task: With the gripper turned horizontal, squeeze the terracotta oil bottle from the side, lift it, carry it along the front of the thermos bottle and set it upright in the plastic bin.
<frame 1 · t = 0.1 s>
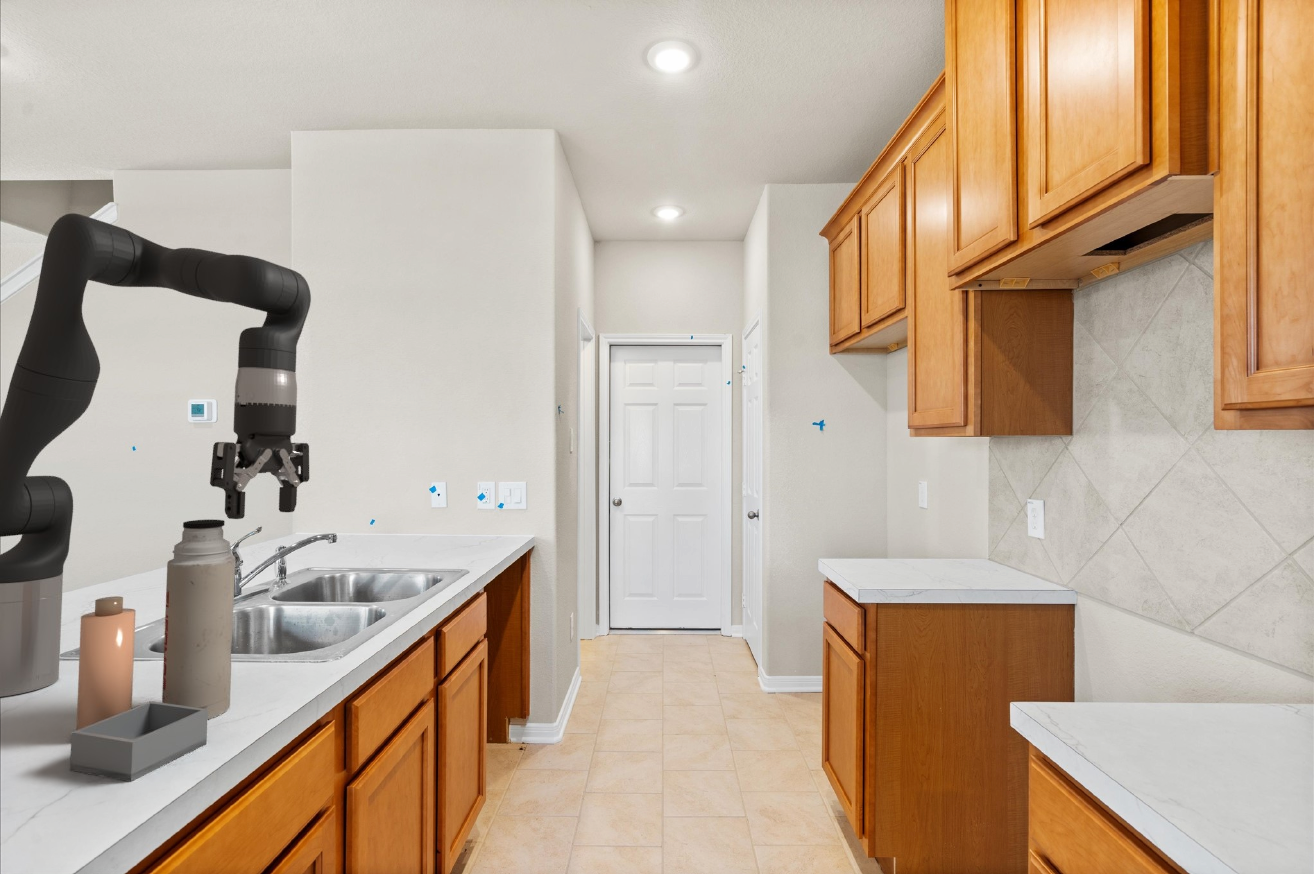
hand: (262, 515, 87), 29 cm above the worktop, tool pointing down, fingers open, 8 cm apart
bin: (141, 756, 76), on the worktop
thermos bottle: (196, 713, 89), on the worktop
oil bottle: (104, 732, 82), on the worktop
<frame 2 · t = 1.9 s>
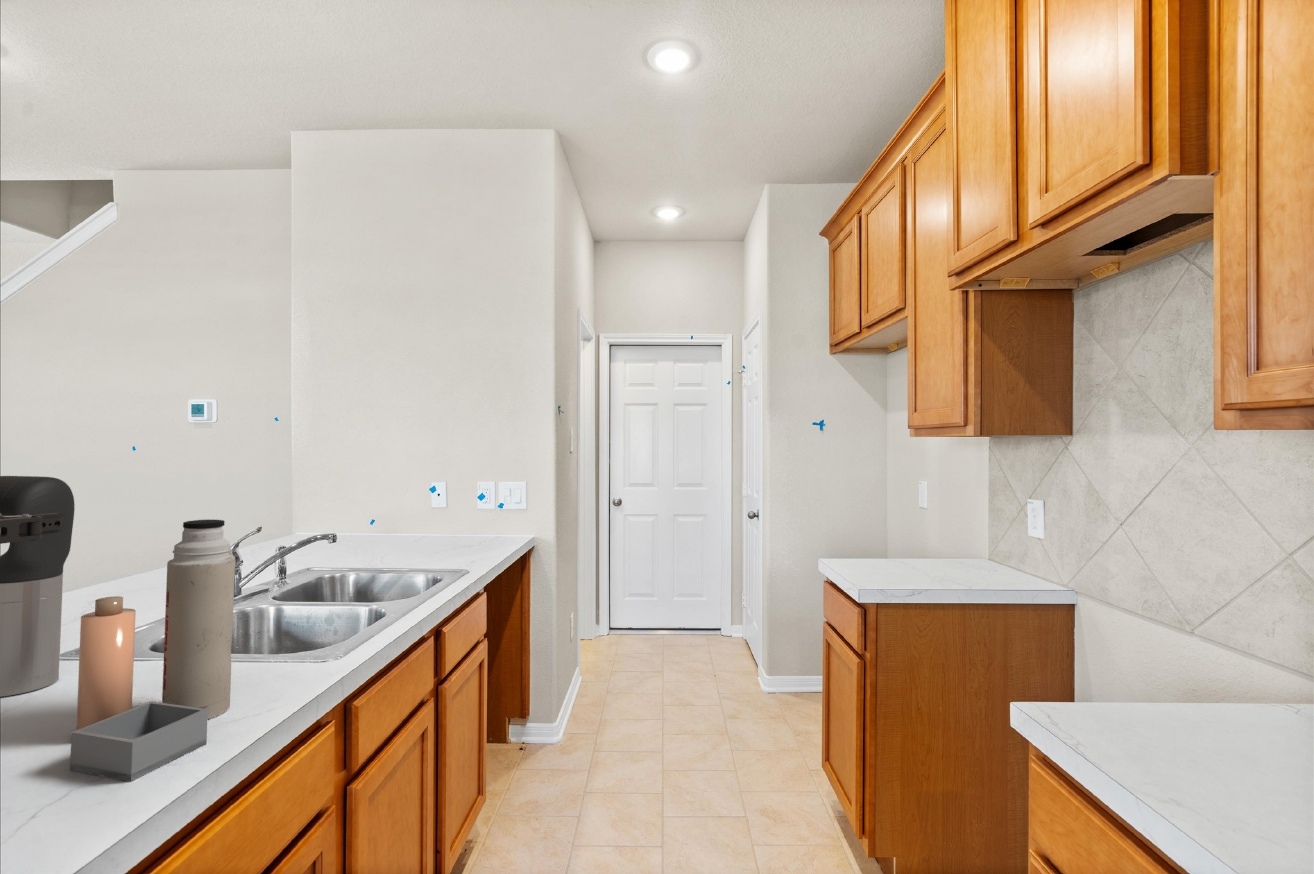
hand: (26, 521, 72), 30 cm above the worktop, tool horizontal, fingers open, 8 cm apart
nothing on the worktop moved.
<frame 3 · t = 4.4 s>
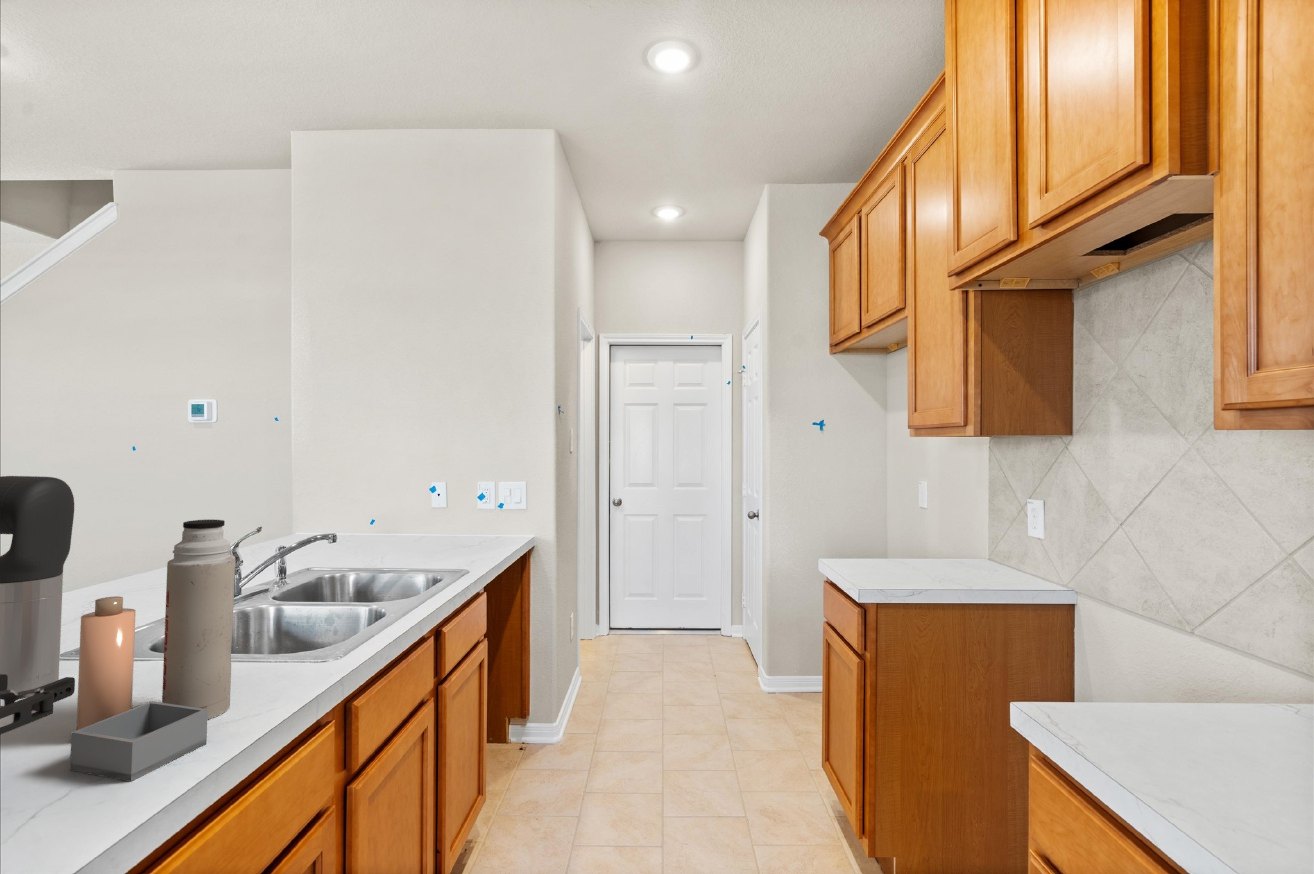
hand: (38, 683, 73), 10 cm above the worktop, tool horizontal, fingers open, 8 cm apart
nothing on the worktop moved.
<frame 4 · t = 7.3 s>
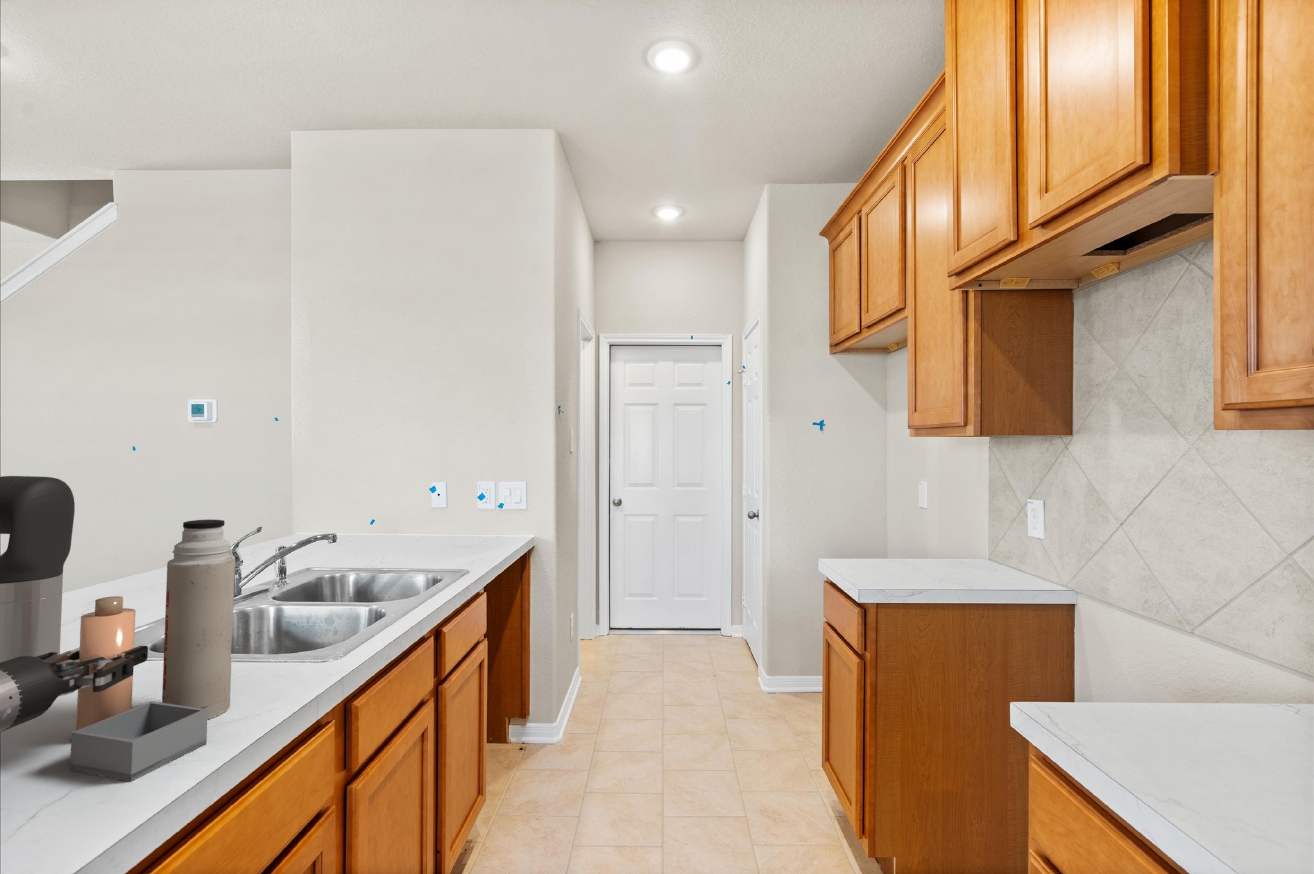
hand: (123, 651, 85), 10 cm above the worktop, tool horizontal, fingers closed on oil bottle, 5 cm apart
oil bottle: (103, 732, 82), on the worktop, touching gripper
everything else where it was.
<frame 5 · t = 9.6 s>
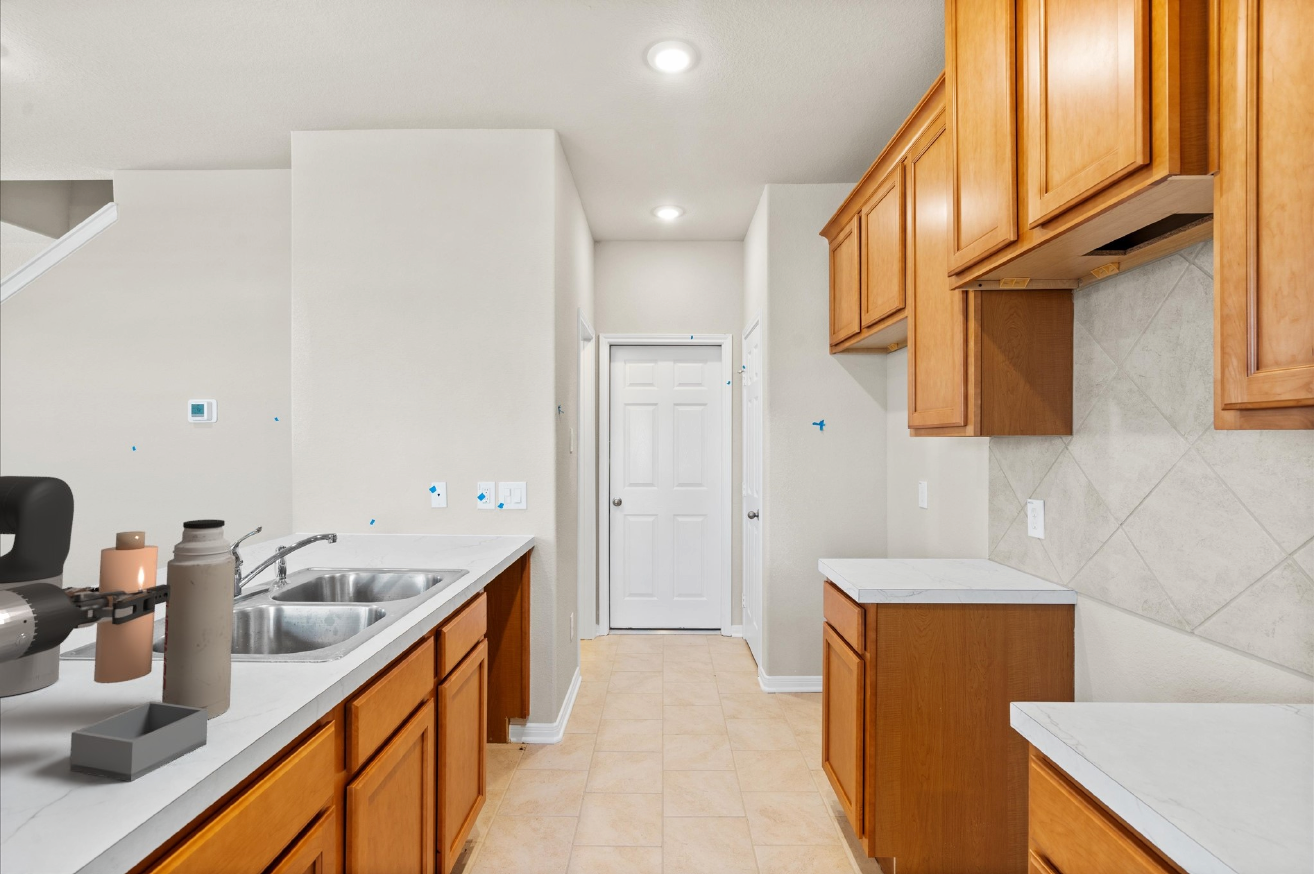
hand: (145, 591, 80), 20 cm above the worktop, tool horizontal, fingers closed on oil bottle, 5 cm apart
oil bottle: (123, 675, 77), point 10 cm above the worktop, touching gripper
everything else where it was.
when the fingers open (12 cm above the worktop, at t = 11.9 s): oil bottle drops 1 cm, resting on bin.
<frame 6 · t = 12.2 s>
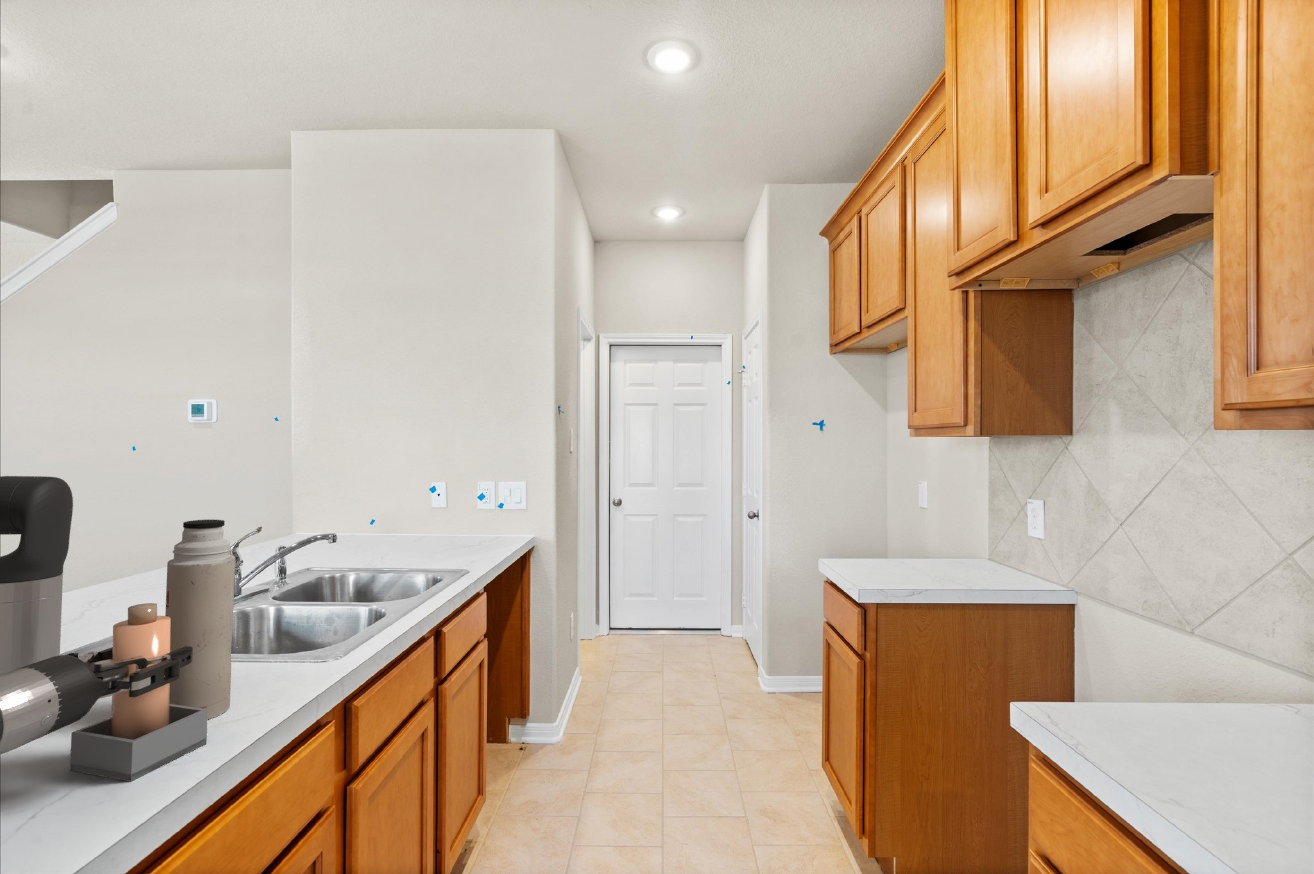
hand: (158, 652, 78), 12 cm above the worktop, tool horizontal, fingers open, 8 cm apart
oil bottle: (140, 750, 76), point 1 cm above the worktop, touching bin
everything else where it was.
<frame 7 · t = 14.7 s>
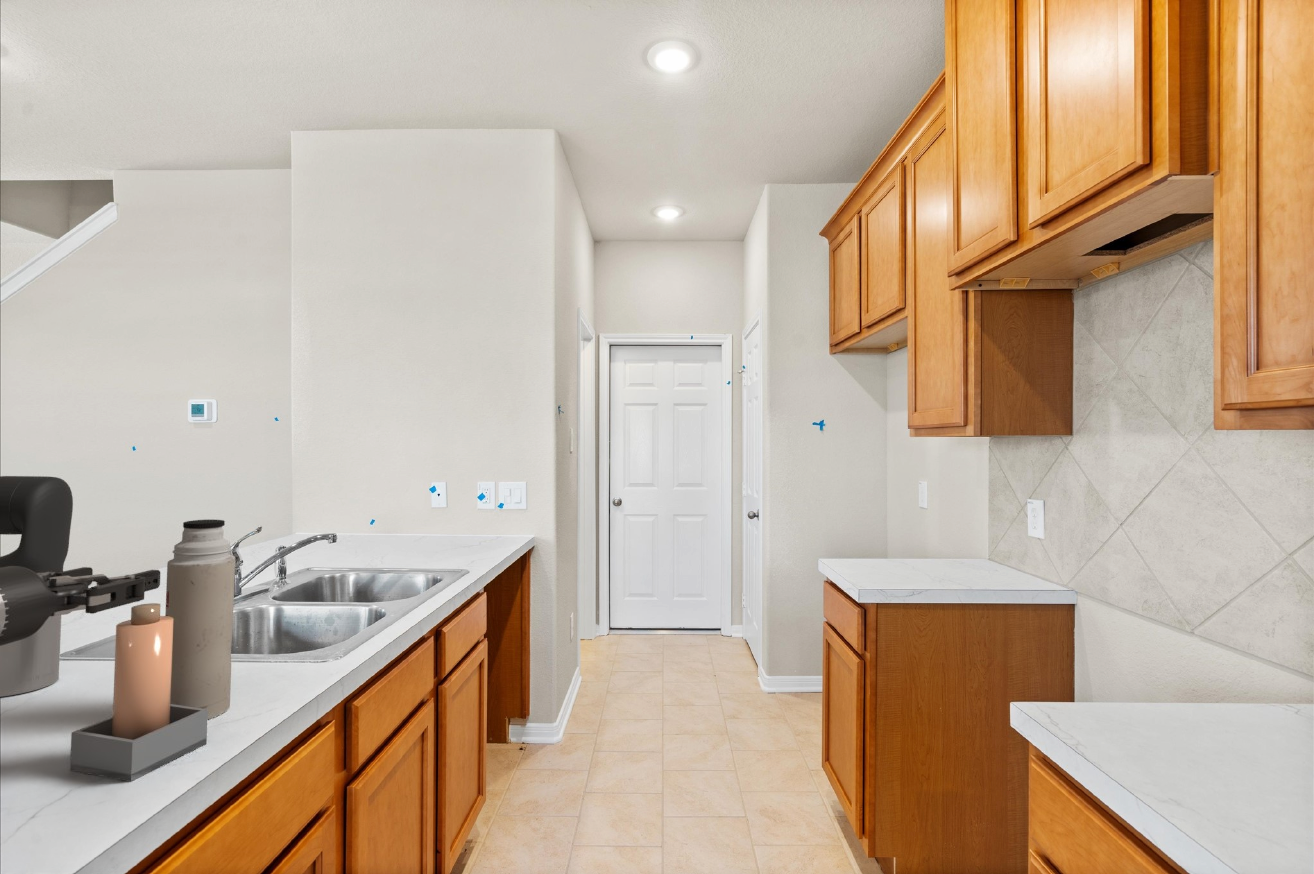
hand: (123, 576, 73), 23 cm above the worktop, tool horizontal, fingers open, 8 cm apart
nothing on the worktop moved.
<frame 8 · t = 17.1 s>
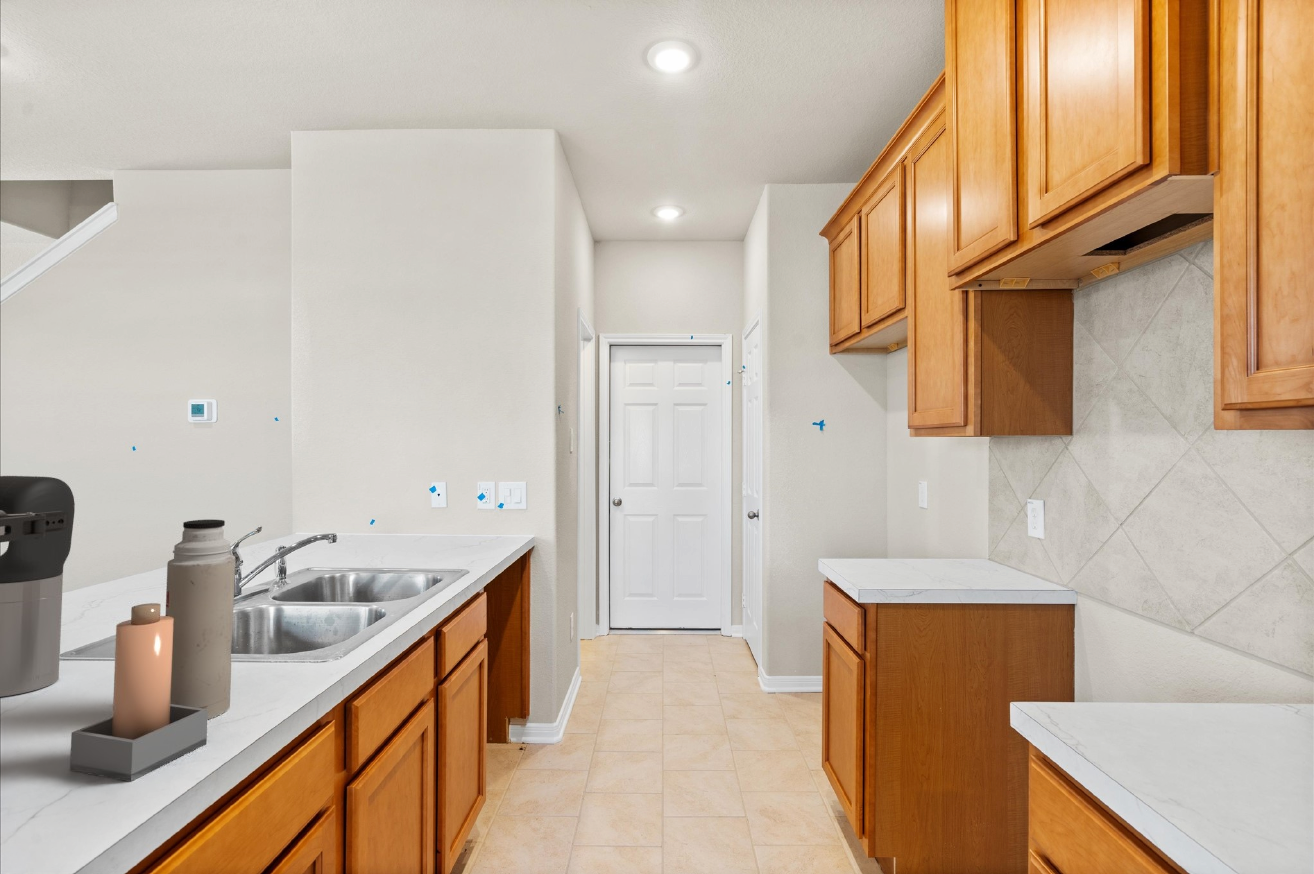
hand: (30, 518, 72), 30 cm above the worktop, tool horizontal, fingers open, 8 cm apart
nothing on the worktop moved.
at the end: oil bottle 0.1 cm off-centre on the bin, point 0.8 cm above the bin's base; oil bottle tilted 0°; the gripper is holding nothing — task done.
